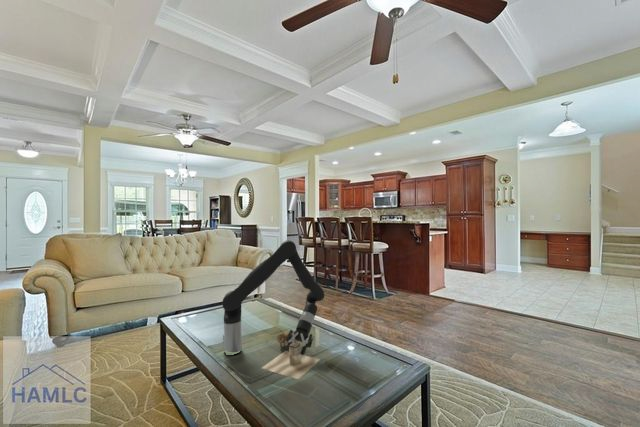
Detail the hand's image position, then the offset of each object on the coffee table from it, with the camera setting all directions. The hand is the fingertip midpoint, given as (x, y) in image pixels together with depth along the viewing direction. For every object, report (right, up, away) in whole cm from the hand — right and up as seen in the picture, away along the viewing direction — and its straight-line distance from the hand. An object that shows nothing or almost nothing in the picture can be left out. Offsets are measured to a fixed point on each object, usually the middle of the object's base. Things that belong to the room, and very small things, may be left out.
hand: (294, 352), depth 145 cm
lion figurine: (-6, -6, +21) cm, 22 cm away
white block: (0, -5, 0) cm, 5 cm away
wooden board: (-1, -5, -1) cm, 6 cm away
